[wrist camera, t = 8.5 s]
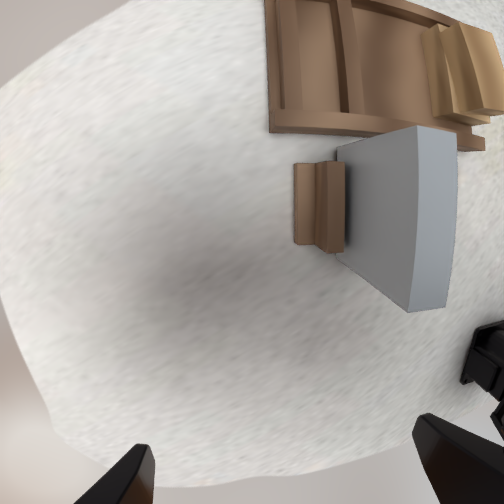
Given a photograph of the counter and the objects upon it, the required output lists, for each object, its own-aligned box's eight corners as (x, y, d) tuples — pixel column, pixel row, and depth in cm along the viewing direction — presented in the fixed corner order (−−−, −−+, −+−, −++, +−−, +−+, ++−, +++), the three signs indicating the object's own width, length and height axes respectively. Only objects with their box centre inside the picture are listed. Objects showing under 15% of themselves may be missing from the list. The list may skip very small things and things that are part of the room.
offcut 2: (471, 42, 14) (491, 33, 12) (491, 116, 16) (514, 112, 13) (438, 33, 14) (458, 21, 12) (459, 113, 15) (483, 107, 13)
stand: (391, 168, 19) (418, 167, 16) (389, 239, 21) (415, 249, 17) (293, 164, 19) (307, 160, 16) (294, 241, 20) (307, 254, 17)
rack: (448, 32, 17) (464, 23, 15) (465, 151, 19) (485, 150, 17) (263, -6, 16) (267, -25, 14) (269, 132, 18) (275, 125, 16)
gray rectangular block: (365, 149, 18) (456, 133, 9) (364, 256, 20) (445, 307, 11) (336, 147, 18) (417, 125, 9) (335, 257, 20) (407, 312, 11)
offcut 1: (457, 47, 17) (475, 39, 14) (469, 126, 18) (490, 123, 16) (420, 34, 16) (437, 23, 14) (432, 117, 18) (453, 112, 15)
